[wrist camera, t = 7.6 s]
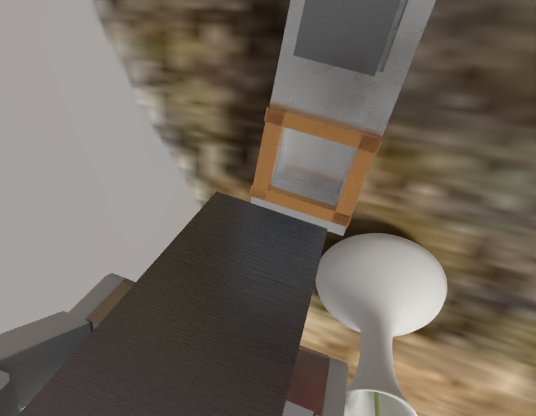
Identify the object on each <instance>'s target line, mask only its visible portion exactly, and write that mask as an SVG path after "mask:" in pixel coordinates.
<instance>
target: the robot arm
mask: <svg viewBox="0 0 536 416" xmlns="http://www.w3.org/2000/svg"><path fill="white" fill-rule="evenodd" d="M135 283H136V282H133V281H131V280H129V279H126V278H124V277H121V276H118V275H116V274H113V273H111V274H109V275H107V276H105V277H104V278H103V279H102V280H101V281H100V282H99V283H98V284H97V285H96V286H95V287H94V288H93V289H92V290H91V291H90V292H89V293H88V294H87V295H86V296H85V297H84V298H83V299H82V300H80V301H79V303H77V304H76V305H75V306H74V307H73V308H72V309H71V310H70V311H69V312H68V313H67V312H64V311H62V312H59V313H56V314H54V315H51V316H48V317H45V318H43V319H40V320H38V321H35V322H32V323H29V324H26V325H24V326H21V327H18V328H15V329H13V330H10V331H7V332H4V333H2V334H0V416H18V415H19V414H20V413H21V411H22V408H24V407H25V406H27V405H28V403H29V402H30V401H31V400H32V399H33V398H34V397H35V396H36V394H37V393H38V392H39V391H40V390H41V389H42V388H43V387H44V385H45V384H46V383H47V382H48V381H49V380H50V379H51V378H52V376H53V375H54V374H55V373H56V372H57V371H58V370H59V369H60V367H61V366H62V365H63V364H64V363H65V362H66V361H67V360H68V358H69V357H70V356H71V355H72V354H73V353H74V352H75V350H76V349H77V348H78V347H79V346H80V345H81V344H82V343H83V341H84V340H85V339H86V338H87V337H88V336H89V335H90V334H91V332H92V331H93V330H94V329H95V328H96V327H97V326H98V325H99V323H100V322H101V321H102V320H103V319H104V318H105V317H106V316H107V314H108V313H109V312H110V311H111V310H112V309H113V308H114V307H115V305H116V304H117V303H118V302H119V301H120V300H121V299H122V298H123V296H124V295H125V294H126V293H127V292H128V291H129V290H130V288H131V287H132V286H133V285H134V284H135ZM347 378H348V365H347V363H345V362H342V361H340V360H337V359H334V358H332V357H329V356H328V355H325V354H322V353H320V352H317V351H314V350H311V349H309V348H306V347H303V346H301V345H299V349H298V353H297V357H296V361H295V365H294V370H293V374H292V378H291V382H290V386H289V390H288V394H287V398H286V403H285V407H284V411H283V415H282V416H344V411H345V400H346V389H347Z"/></svg>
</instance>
